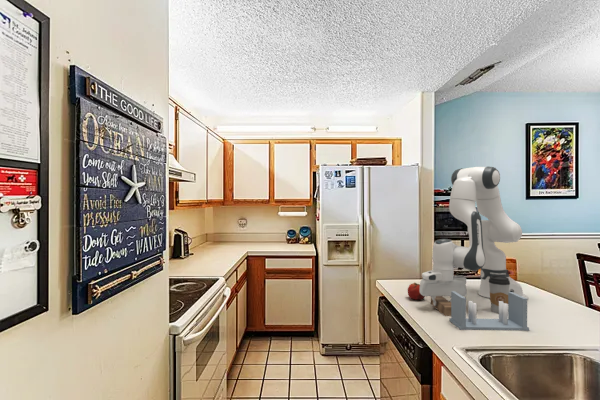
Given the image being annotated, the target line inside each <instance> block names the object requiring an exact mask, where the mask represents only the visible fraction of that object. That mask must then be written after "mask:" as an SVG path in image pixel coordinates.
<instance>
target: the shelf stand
mask: <svg viewBox="0 0 600 400" xmlns="http://www.w3.org/2000/svg"><path fill="white" fill-rule="evenodd" d="M450 299H451V316H450V317H449V319H448V320H449V322H450V323H452V325H454V326H455V327H456V328H457V329H459V330H463V331H464V330H468V331H472V330H473V331H527V332H528V331H530V327H528V299H526V298H524V297H522V296H520V295H518V294H515V293H513V292H508V304H506V303H503V301H499V313H498V318H477V307H478V306H477V303H476V302H474V300H473V301H472V300H468V302H467V298H466V296H464V297H463V296H462V295H460V294H458V293H457V292H455V291H451V297H450ZM467 304H468V315H467ZM467 316H468V317H467Z"/></svg>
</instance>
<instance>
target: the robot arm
mask: <svg viewBox="0 0 600 400" xmlns="http://www.w3.org/2000/svg"><path fill="white" fill-rule="evenodd" d="M450 181H451V184H452V188H451V192H450V197H449V204H448V209H449V210H448V211H449V213H450V214H451V215H452V217H454V218H455V219H457V220H458V221H461V222H462V223H464V224H465V225H466V226H467V234H468V238H469V239H468V240H469V241H468V242H469V246H468V247H467V246H462V245H461V246H460V245H457V244H455V243H454V242H453V241H452V239H450V238H449V239H448V238H439V239H437V240H434V243H433V247H432V261H433V263H432V269H431V270H428V271H425V272H422V273H421V277H422V278H421V280H420V282H419V284H420V294H421V295H422V296H425V297H430V299H431V298H432V300H433V304H434V306H438V302H437V301H435V299H434V298H436V296H443V297H449V298H450V299H449V300H448V301H449V302H451V291H455V292H457V293H458V294H460V295H462V296H463V297H466V296H467V295H468V293H467V278H466V277H465V276H464V275H457V274H456V275H455V274H454V273H455V272H454V270H455V269H454V267H456V268H461V269H465V270H469V271H472V272H477V271H479V270H480V285H479V289H478V292H477V294H478V295H479V296H481V297H484V298H488V299H490V287H489V279H490V276H502V277H507V278H509V281H510V284H509V292H513V293H515V294H518V295H520V296H522V297H524V298H526V299H527V300H529V296H528V295H527V294H524V291H523V287H522V285H521V284H520V283H518V282H517V281H516V280H515V279H513V278H512V277H511V276H513V275H514V274H515V273H514V271H513V270H509V269H508V268H507V255H506V253H505V252H504V251H503V250H501V249H500V248H498V247H497V245H496V243H505V244H506V243H509V244H510V243H517V242H518V241H519V240H520V239H521V238H522V236H523V229H522V227H521V225H520V224H519V223H518V222H516V221H514V220H513V219H511V218H510V217H509V215H508V214H507V213H506V212H505V210H504V207H503V204H502V200H501V195H500V189H499V184H500V181H501V174H500V171H499V170H498V169H497V168H496V167H494V166H473V167H467V168H465V167H464V168H458V169H455V170H454V171H453V172H452V174H451V177H450ZM482 216H483V217H485V218H486V219H482ZM487 219H488V220H487ZM434 306H433V307H434Z"/></svg>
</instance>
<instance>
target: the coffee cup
mask: <svg viewBox="0 0 600 400" xmlns="http://www.w3.org/2000/svg"><path fill="white" fill-rule="evenodd" d="M509 284H510V281H509V278H507V277H502V276H490V279H489V287H490V298H489V301H490V302H489V303H490V310H491V311H492V312H493V313H496V314H499V301H503V303H506V304H508V292H509Z"/></svg>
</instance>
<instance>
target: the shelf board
mask: <svg viewBox="0 0 600 400" xmlns="http://www.w3.org/2000/svg"><path fill="white" fill-rule="evenodd" d="M434 299H435V301H437V302H438V306H434V304H433V300H432V298H431V297H430V305H432V307H434V308H435V309H436V310H437V311H438V312H440V313H441V314H442V315H443V316H445V317H451V302H449V301H450V300H449V299H447V298H445V296H436V298H434Z"/></svg>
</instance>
